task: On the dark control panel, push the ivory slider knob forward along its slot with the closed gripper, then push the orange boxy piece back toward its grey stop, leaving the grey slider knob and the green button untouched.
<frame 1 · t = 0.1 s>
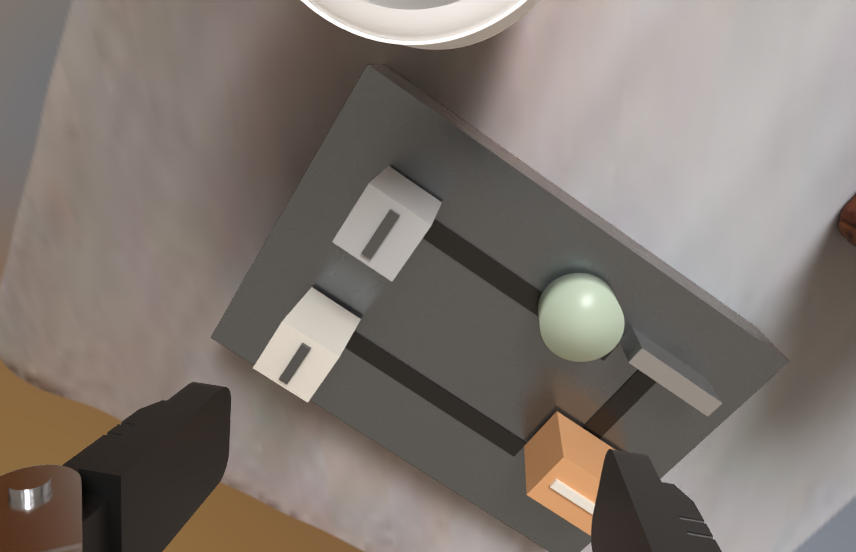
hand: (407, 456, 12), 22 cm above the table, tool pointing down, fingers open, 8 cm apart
panel: (484, 318, 35), on the table
orange boxy piece: (580, 476, 31), point 6 cm above the table, slide at 0.0 cm
ivory slider: (309, 343, 30), point 7 cm above the table, slide at 0.0 cm
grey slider: (389, 221, 27), point 7 cm above the table, slide at 0.0 cm
green button: (579, 316, 29), point 5 cm above the table, slide at 0.0 cm
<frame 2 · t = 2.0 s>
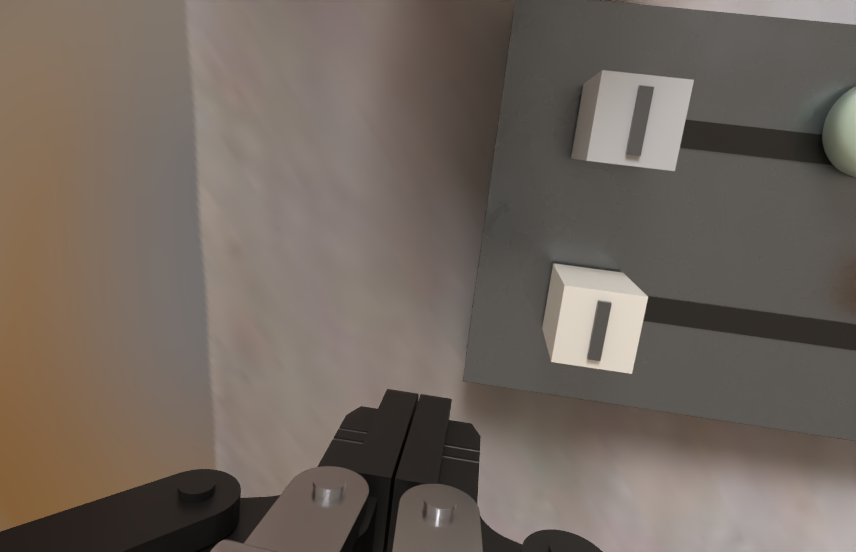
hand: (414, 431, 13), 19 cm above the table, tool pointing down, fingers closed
panel: (740, 226, 29), on the table
ivory slider: (589, 314, 25), point 7 cm above the table, slide at 0.0 cm
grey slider: (625, 123, 23), point 7 cm above the table, slide at 0.0 cm
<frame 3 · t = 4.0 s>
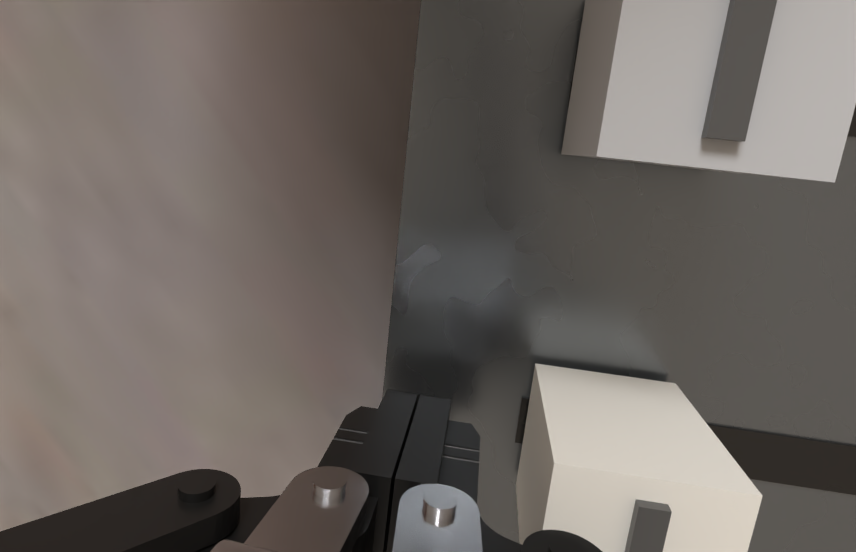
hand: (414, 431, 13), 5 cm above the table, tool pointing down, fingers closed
ivory slider: (611, 491, 11), point 7 cm above the table, slide at 0.2 cm, touching gripper
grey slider: (688, 68, 10), point 7 cm above the table, slide at 0.0 cm
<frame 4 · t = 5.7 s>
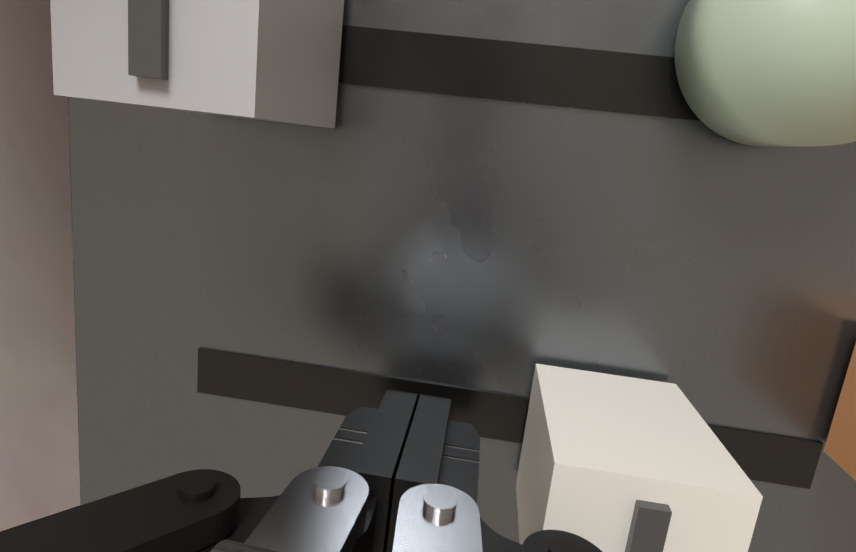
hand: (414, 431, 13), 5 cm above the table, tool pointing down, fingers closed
panel: (579, 240, 17), on the table
ivory slider: (612, 492, 11), point 7 cm above the table, slide at 8.4 cm, touching gripper
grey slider: (220, 22, 10), point 7 cm above the table, slide at 0.0 cm
green button: (805, 34, 10), point 5 cm above the table, slide at 0.0 cm
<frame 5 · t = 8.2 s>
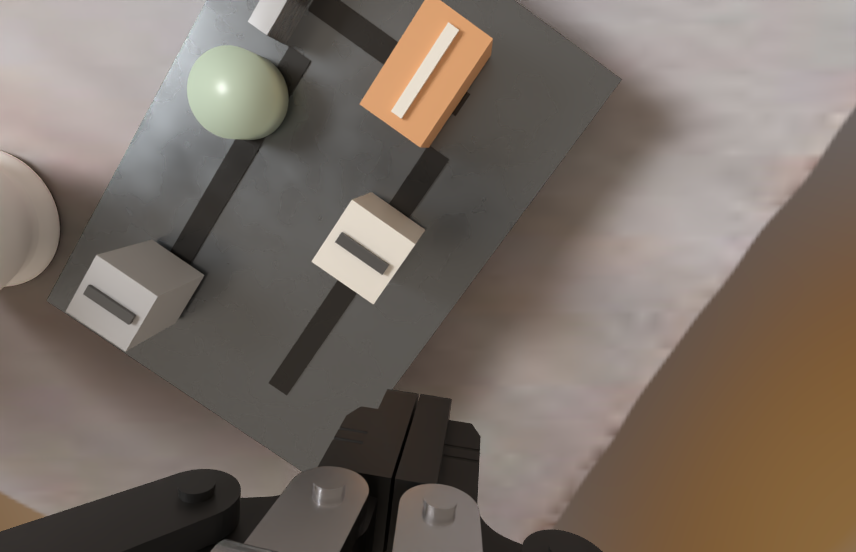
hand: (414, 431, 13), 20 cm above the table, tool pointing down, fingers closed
panel: (329, 193, 32), on the table
orange boxy piece: (428, 77, 25), point 6 cm above the table, slide at 0.0 cm
ivory slider: (372, 244, 26), point 7 cm above the table, slide at 8.6 cm
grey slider: (138, 292, 28), point 7 cm above the table, slide at 0.0 cm
green button: (239, 95, 26), point 5 cm above the table, slide at 0.0 cm
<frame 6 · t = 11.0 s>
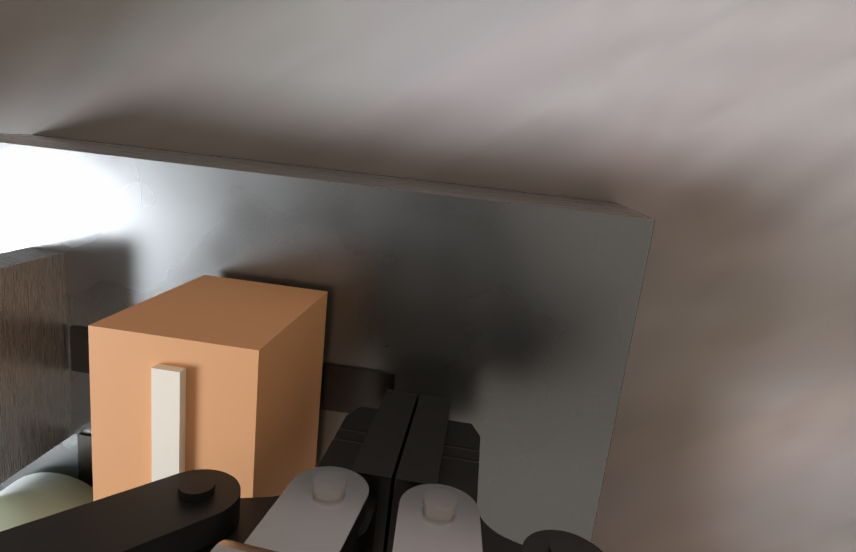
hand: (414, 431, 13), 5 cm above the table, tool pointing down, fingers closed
panel: (287, 542, 20), on the table
orange boxy piece: (221, 421, 12), point 6 cm above the table, slide at 1.5 cm, touching gripper
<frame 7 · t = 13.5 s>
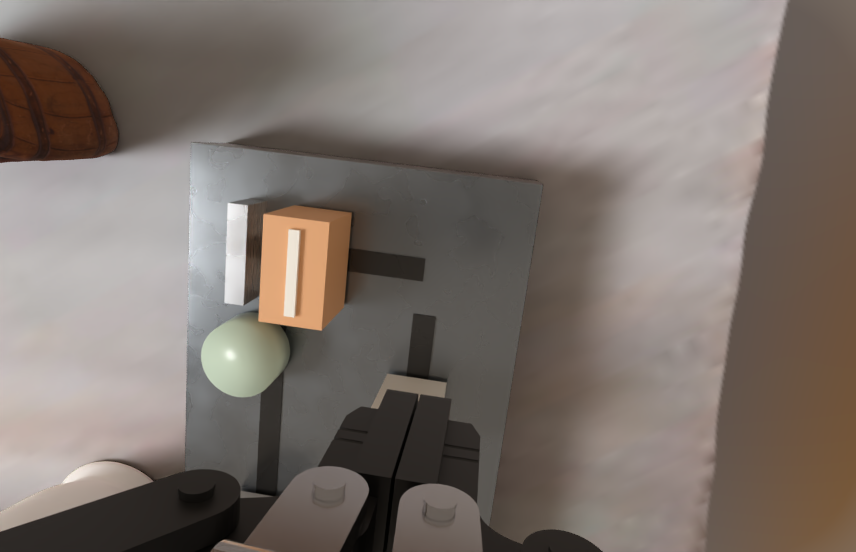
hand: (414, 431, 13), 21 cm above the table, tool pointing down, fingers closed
panel: (358, 374, 35), on the table
jar: (119, 511, 40), on the table
orange boxy piece: (306, 264, 28), point 6 cm above the table, slide at 3.7 cm
wooden figurine: (37, 102, 34), on the table
ivory slider: (407, 425, 29), point 7 cm above the table, slide at 8.6 cm
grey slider: (246, 545, 31), point 7 cm above the table, slide at 0.0 cm
green button: (246, 354, 30), point 5 cm above the table, slide at 0.0 cm
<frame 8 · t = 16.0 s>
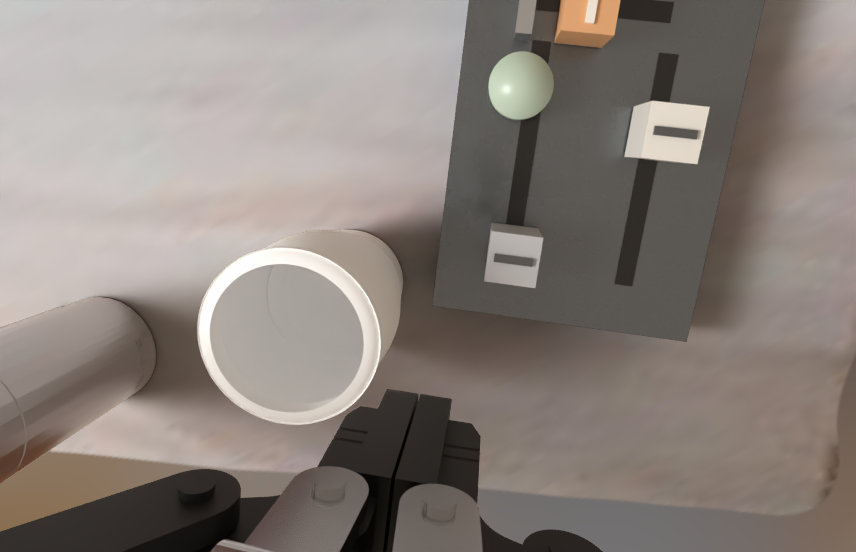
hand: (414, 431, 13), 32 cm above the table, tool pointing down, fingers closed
panel: (580, 138, 42), on the table
jar: (352, 279, 46), on the table
ivory slider: (664, 133, 35), point 7 cm above the table, slide at 8.6 cm
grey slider: (512, 253, 37), point 7 cm above the table, slide at 0.0 cm
green button: (520, 87, 36), point 5 cm above the table, slide at 0.0 cm
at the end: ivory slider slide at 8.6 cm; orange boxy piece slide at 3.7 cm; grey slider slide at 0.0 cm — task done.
